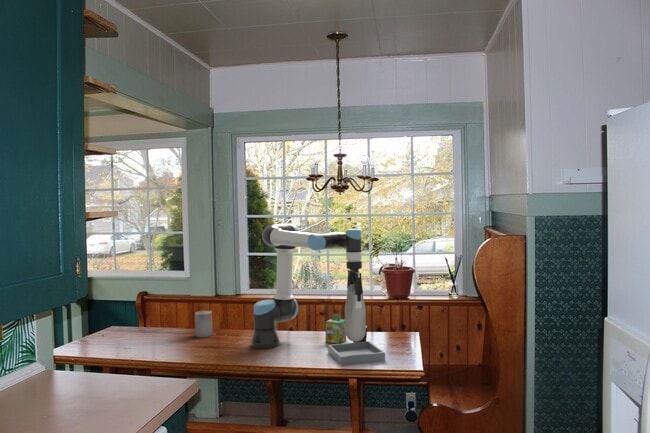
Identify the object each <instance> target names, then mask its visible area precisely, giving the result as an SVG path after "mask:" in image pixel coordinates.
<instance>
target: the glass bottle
mask: <svg viewBox="0 0 650 433" xmlns="http://www.w3.org/2000/svg"><path fill="white" fill-rule="evenodd" d="M346 290H347V291H346V300H345V304H344V319H345V332H346V339H348V341H350V342H353V341H354V342H358V341H360V340H362V339H363V338H364V336H365V333H366V326H367V323H366V322H367V319H366V318H367V311H366V310H367V309H366V304H365V303H366V302H365V299H364V293H363V294H361V306H362V308H356V299H355V293H356V290H355V285H354V284H351V285H350V286H349V287H348V289H347V288H346Z"/></svg>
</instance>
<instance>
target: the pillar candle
mask: <svg viewBox="0 0 650 433" xmlns="http://www.w3.org/2000/svg"><path fill="white" fill-rule="evenodd" d="M212 314H213V311H212V310H207V309H206V310H204V309H203V310H199V311H195V312H194V318H195V321H194V322H195V326H194V327H195V337H196V338H209V337H211V336H213V334H214V333H213V332H214V330H213V315H212Z"/></svg>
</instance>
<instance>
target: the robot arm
mask: <svg viewBox="0 0 650 433" xmlns="http://www.w3.org/2000/svg"><path fill="white" fill-rule="evenodd" d="M261 237H262V241H263V242H264V243H265V244H266V245H267V246H269V247H274V249H275V251H276V288H275V289H276V290H275V291H276V293H275V294H274V295H273V298H272V299H263V300H259V301H257V302H255V304H254V305H253V312H252V313H253V328H254V329H253V330H254V331H253V334H252V337H251V343H250V345H251V347H252V348H255V349H270V348H272V349H273V348H275V347H276V348H277V347H278V346H279V345H280V338H279V334H278V332H277V323H282V322H287V321H291V320H294V318H295V317H296V316H297V315H298V312H299V303H298V302H297V300H296V299H295V296H294V295H293V289H292V288H293V287H292V286H293V259H294V255H293V254H294V251H295V250H296V247H297V248H298V247H299V248H304V249H305V248H306V249H311V250H312V251H322V250H329V249H345V258H346V259H345V260H346V269H347V283H346V290H347V289H348V287H349V286H350V285H351V284H354V285H355V290H356V293H355V299H356V308H362V306H361V294H363V295H364V290H363V281H362V273H361V272H359V270H361V269H363V261H362V259H363V258H362V256H363V253H362V239H363V238H362V231H361V229H359V228H347V229H346V230H345V232H329V233H312V232H302V231H300V230H299V228H298V227H297V226H296V225H295V224H293V223H280V224H270V225H268V226H266V227H265V228H264V229H263V231H262V235H261Z"/></svg>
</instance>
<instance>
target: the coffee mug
mask: <svg viewBox="0 0 650 433" xmlns="http://www.w3.org/2000/svg"><path fill="white" fill-rule="evenodd" d="M367 335H368V326H367V325H366V333H365V336H364V338H363V339H362V340H360V341H358V342H365V341H367V337H368V336H367ZM352 343H355V342H354V341H352Z"/></svg>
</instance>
